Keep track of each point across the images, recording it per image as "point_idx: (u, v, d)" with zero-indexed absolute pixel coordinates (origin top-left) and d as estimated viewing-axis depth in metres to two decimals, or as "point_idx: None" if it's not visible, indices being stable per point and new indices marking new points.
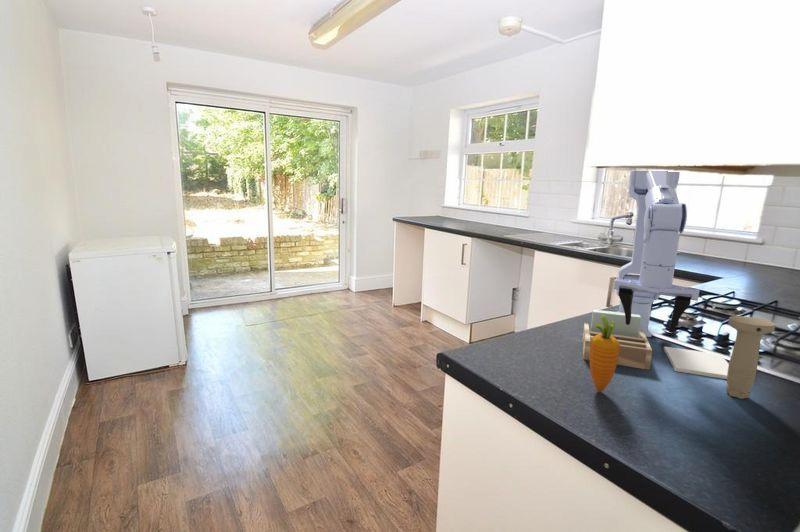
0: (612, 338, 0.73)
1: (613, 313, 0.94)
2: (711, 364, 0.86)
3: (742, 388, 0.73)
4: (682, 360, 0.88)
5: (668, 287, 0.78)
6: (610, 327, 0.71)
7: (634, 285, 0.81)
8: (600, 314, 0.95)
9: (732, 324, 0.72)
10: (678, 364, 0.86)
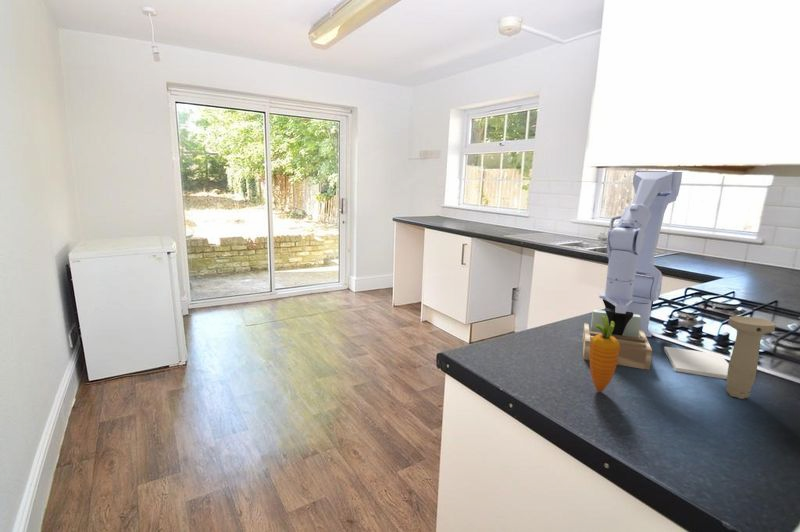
0: (612, 338, 0.73)
1: None
2: (711, 364, 0.86)
3: (742, 388, 0.73)
4: (682, 360, 0.88)
5: (611, 297, 0.92)
6: (610, 327, 0.71)
7: None
8: (600, 314, 0.95)
9: (732, 324, 0.72)
10: (678, 364, 0.86)
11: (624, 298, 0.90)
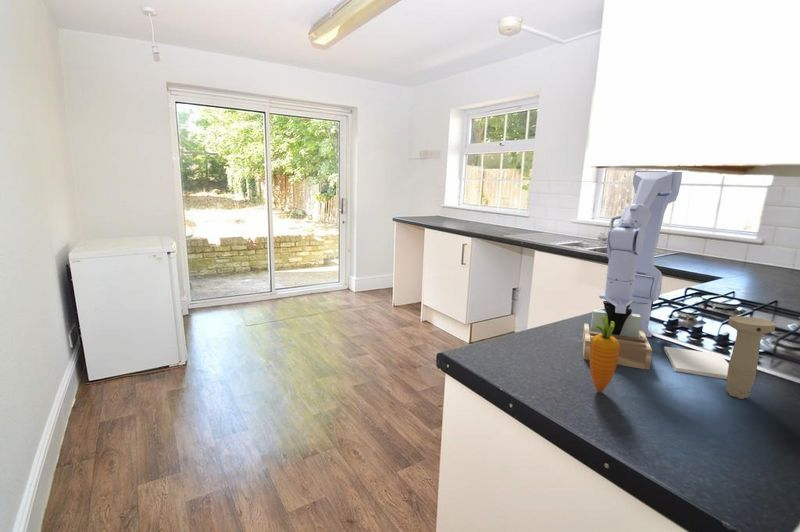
0: (612, 338, 0.73)
1: None
2: (711, 364, 0.86)
3: (742, 388, 0.73)
4: (682, 360, 0.88)
5: (611, 297, 0.92)
6: (610, 327, 0.71)
7: None
8: (600, 314, 0.95)
9: (732, 324, 0.72)
10: (678, 364, 0.86)
11: (624, 298, 0.90)
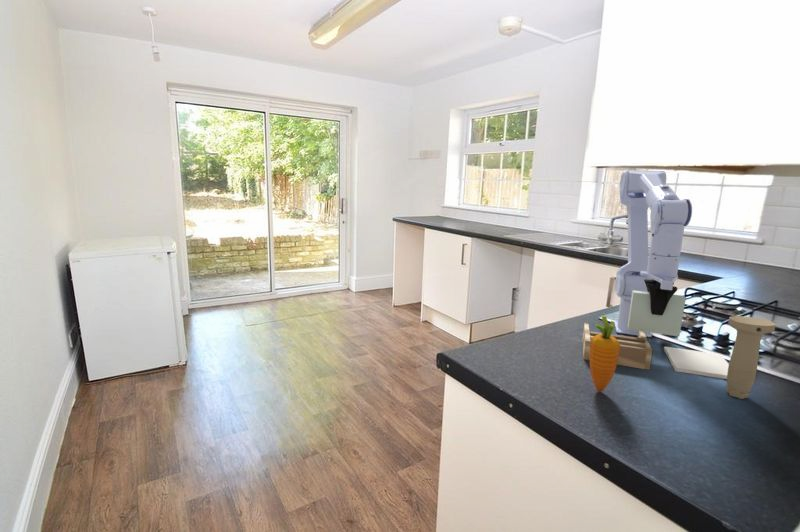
0: (612, 338, 0.73)
1: None
2: (711, 364, 0.86)
3: (742, 388, 0.73)
4: (682, 360, 0.88)
5: (654, 274, 0.87)
6: (610, 327, 0.71)
7: None
8: (641, 295, 0.90)
9: (732, 324, 0.72)
10: (678, 364, 0.86)
11: (669, 275, 0.85)
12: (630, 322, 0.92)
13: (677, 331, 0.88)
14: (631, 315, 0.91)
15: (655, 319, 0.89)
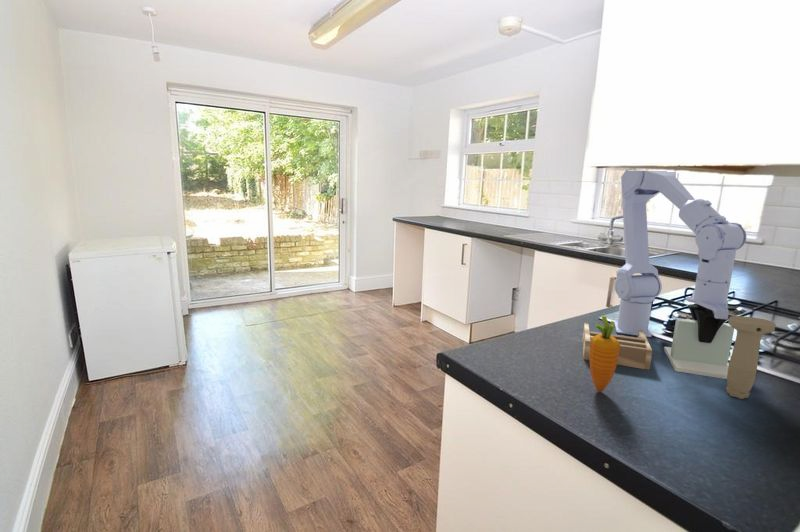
0: (612, 338, 0.73)
1: None
2: (711, 364, 0.86)
3: (742, 388, 0.73)
4: (682, 360, 0.88)
5: (704, 301, 0.83)
6: (610, 327, 0.71)
7: (693, 295, 0.88)
8: (687, 323, 0.86)
9: (732, 324, 0.72)
10: (678, 364, 0.86)
11: (720, 302, 0.82)
12: (675, 351, 0.88)
13: (725, 360, 0.85)
14: (676, 344, 0.87)
15: (702, 348, 0.86)
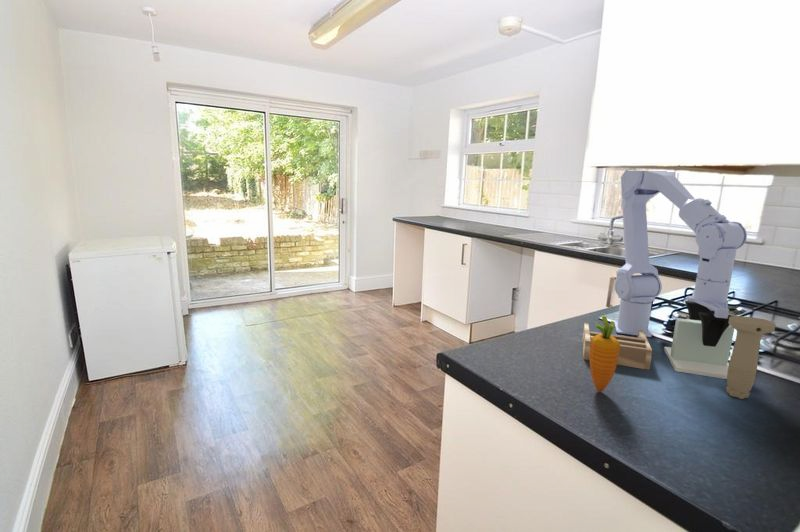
0: (612, 338, 0.73)
1: None
2: (711, 364, 0.86)
3: (742, 388, 0.73)
4: (682, 360, 0.88)
5: (704, 300, 0.83)
6: (610, 327, 0.71)
7: (693, 294, 0.88)
8: (687, 323, 0.86)
9: (732, 324, 0.72)
10: (678, 364, 0.86)
11: (720, 301, 0.82)
12: (675, 351, 0.88)
13: (725, 360, 0.85)
14: (676, 344, 0.87)
15: (702, 348, 0.86)
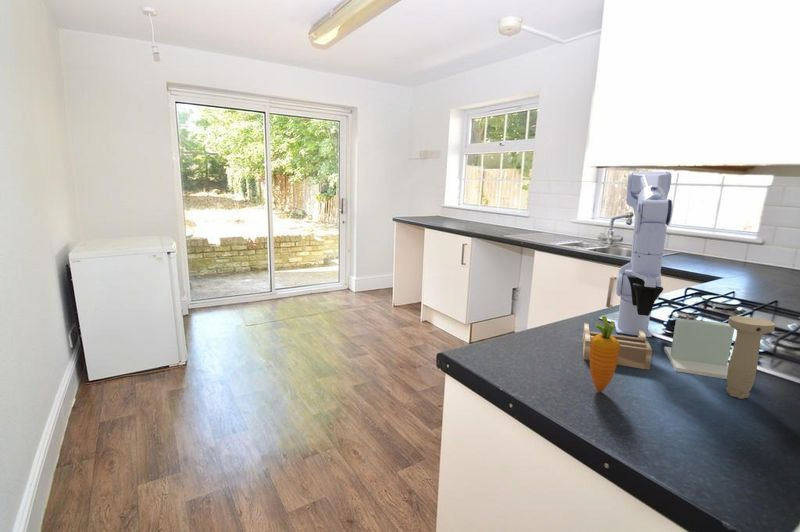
0: (612, 338, 0.73)
1: (701, 322, 0.86)
2: (711, 364, 0.86)
3: (742, 388, 0.73)
4: (682, 360, 0.88)
5: (638, 272, 0.89)
6: (610, 327, 0.71)
7: None
8: (687, 323, 0.86)
9: (732, 324, 0.72)
10: (678, 364, 0.86)
11: (653, 272, 0.87)
12: (675, 351, 0.88)
13: (725, 360, 0.85)
14: (676, 344, 0.87)
15: (702, 348, 0.86)
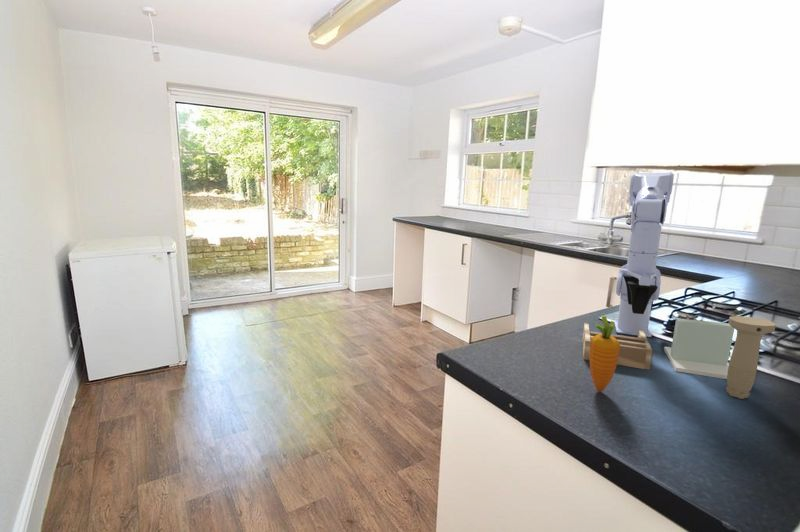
0: (612, 338, 0.73)
1: (701, 322, 0.86)
2: (711, 364, 0.86)
3: (742, 388, 0.73)
4: (682, 360, 0.88)
5: (633, 271, 0.89)
6: (610, 327, 0.71)
7: None
8: (687, 323, 0.86)
9: (732, 324, 0.72)
10: (678, 364, 0.86)
11: (647, 271, 0.88)
12: (675, 351, 0.88)
13: (725, 360, 0.85)
14: (676, 344, 0.87)
15: (702, 348, 0.86)
